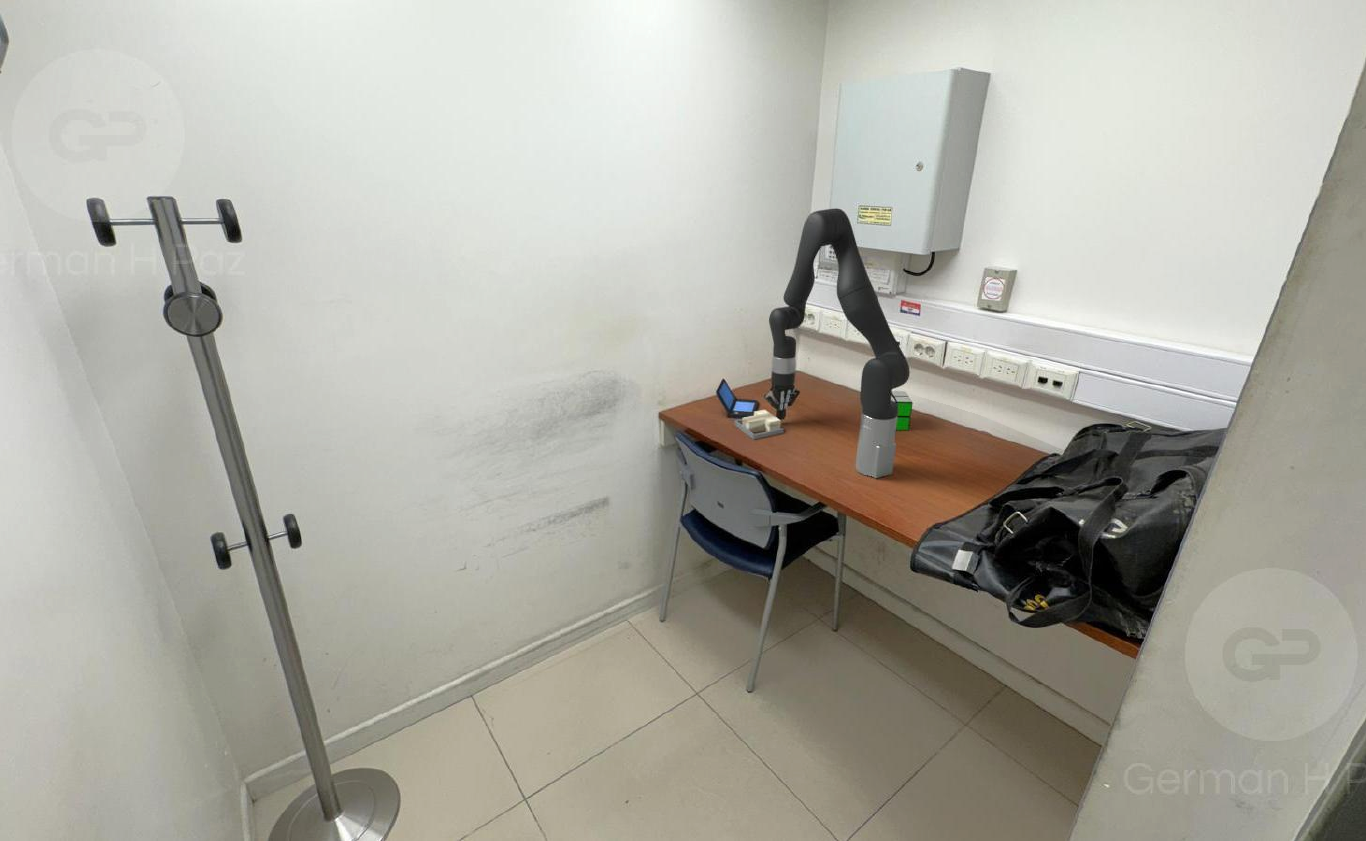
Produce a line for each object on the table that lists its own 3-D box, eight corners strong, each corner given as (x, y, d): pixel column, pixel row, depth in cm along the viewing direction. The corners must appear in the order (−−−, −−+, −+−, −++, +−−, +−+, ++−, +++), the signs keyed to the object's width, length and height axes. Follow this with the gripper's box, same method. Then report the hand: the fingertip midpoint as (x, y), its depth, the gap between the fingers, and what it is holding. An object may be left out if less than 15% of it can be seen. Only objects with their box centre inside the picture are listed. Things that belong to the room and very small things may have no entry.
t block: (779, 431, 188) (780, 420, 187) (753, 437, 185) (753, 425, 183) (763, 420, 197) (764, 409, 195) (737, 425, 193) (738, 414, 192)
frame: (783, 433, 187) (783, 428, 187) (753, 439, 183) (753, 435, 183) (762, 418, 198) (762, 414, 197) (733, 424, 194) (734, 420, 193)
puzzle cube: (901, 418, 196) (905, 390, 192) (908, 431, 187) (913, 402, 183) (870, 418, 197) (874, 390, 193) (876, 430, 188) (880, 401, 184)
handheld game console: (753, 420, 198) (754, 395, 194) (715, 417, 200) (715, 392, 197) (758, 403, 211) (759, 379, 208) (722, 400, 214) (722, 377, 211)
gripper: (772, 375, 180) (770, 426, 187) (807, 369, 185) (804, 419, 192) (759, 369, 186) (757, 418, 193) (793, 362, 191) (790, 411, 198)
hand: (780, 418), depth 193 cm, fingers closed
